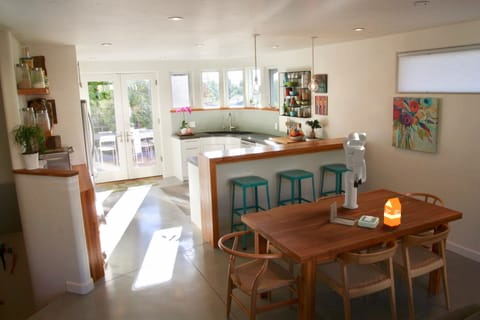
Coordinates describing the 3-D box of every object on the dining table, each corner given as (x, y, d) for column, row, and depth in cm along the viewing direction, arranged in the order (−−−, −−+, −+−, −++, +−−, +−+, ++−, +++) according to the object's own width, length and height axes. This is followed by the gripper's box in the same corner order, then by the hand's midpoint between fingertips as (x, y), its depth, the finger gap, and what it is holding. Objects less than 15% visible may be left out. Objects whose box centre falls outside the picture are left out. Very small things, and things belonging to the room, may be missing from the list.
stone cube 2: (365, 223, 298) (365, 217, 297) (371, 224, 296) (371, 218, 295) (363, 225, 295) (363, 219, 294) (369, 226, 292) (370, 220, 291)
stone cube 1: (367, 221, 303) (367, 215, 302) (373, 222, 300) (373, 216, 299) (365, 223, 299) (365, 217, 298) (371, 224, 297) (371, 218, 296)
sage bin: (362, 220, 306) (363, 215, 306) (378, 223, 300) (379, 218, 299) (358, 226, 295) (358, 221, 294) (374, 229, 289) (374, 223, 288)
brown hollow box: (335, 217, 314) (336, 201, 311) (357, 221, 305) (358, 204, 302) (329, 223, 302) (330, 206, 299) (352, 227, 293) (352, 209, 290)
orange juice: (383, 223, 300) (385, 198, 296) (392, 221, 303) (394, 196, 299) (391, 226, 293) (392, 200, 289) (400, 224, 296) (401, 199, 292)
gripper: (356, 161, 305) (355, 182, 309) (350, 165, 291) (349, 188, 294) (366, 162, 301) (365, 184, 305) (360, 166, 287) (359, 189, 290)
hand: (357, 186), depth 299 cm, fingers open, 9 cm apart
